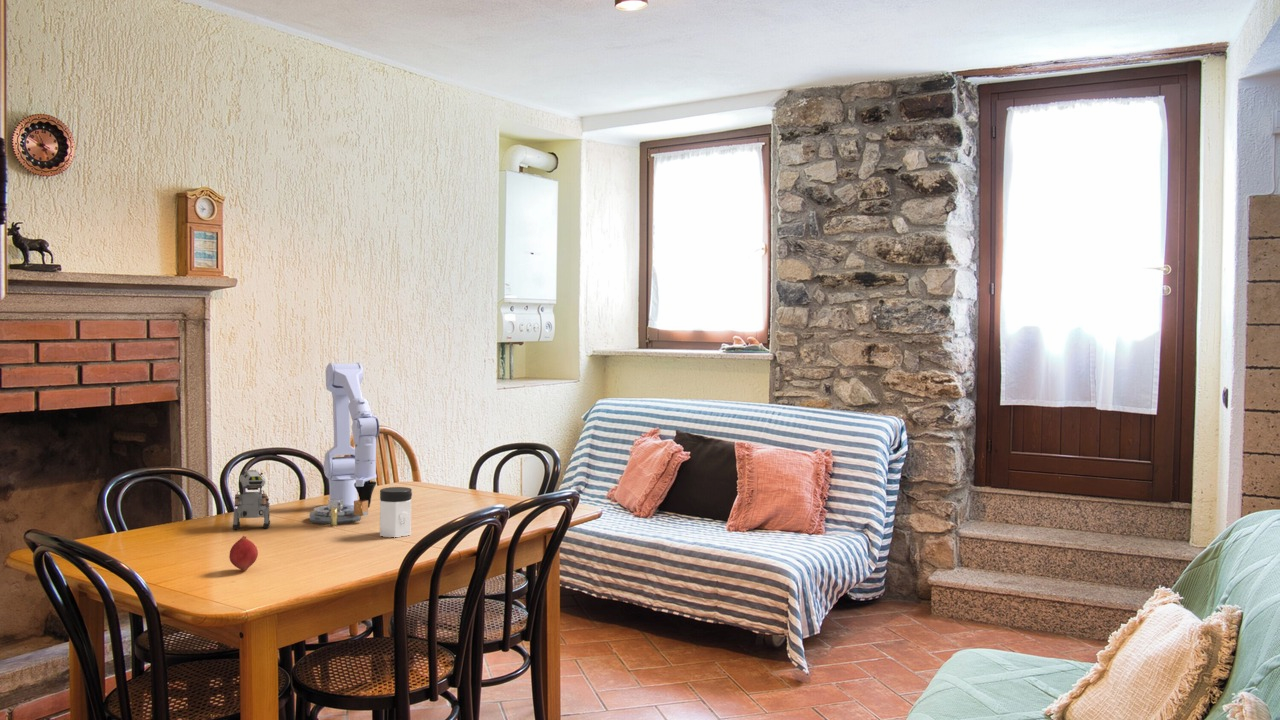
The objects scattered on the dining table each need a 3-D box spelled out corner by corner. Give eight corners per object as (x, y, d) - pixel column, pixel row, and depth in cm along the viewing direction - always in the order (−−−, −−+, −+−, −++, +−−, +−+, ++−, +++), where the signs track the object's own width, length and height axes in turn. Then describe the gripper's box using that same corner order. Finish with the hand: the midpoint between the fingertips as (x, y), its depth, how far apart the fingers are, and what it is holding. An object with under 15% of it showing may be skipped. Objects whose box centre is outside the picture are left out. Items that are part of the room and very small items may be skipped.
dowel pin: (332, 525, 252) (332, 507, 251) (337, 525, 252) (338, 507, 251) (330, 526, 250) (330, 508, 250) (335, 526, 250) (336, 508, 250)
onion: (224, 573, 201) (224, 537, 200) (237, 567, 206) (237, 532, 206) (250, 574, 200) (250, 538, 200) (262, 567, 206) (262, 532, 206)
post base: (320, 514, 266) (320, 495, 266) (367, 515, 266) (367, 496, 266) (301, 524, 252) (301, 504, 252) (351, 525, 252) (352, 505, 252)
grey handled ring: (304, 513, 256) (305, 499, 256) (333, 506, 267) (333, 492, 267) (351, 519, 250) (351, 504, 250) (379, 511, 260) (379, 497, 260)
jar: (387, 539, 236) (388, 493, 236) (372, 534, 242) (373, 489, 242) (418, 534, 242) (419, 489, 242) (403, 529, 248) (403, 485, 248)
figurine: (272, 521, 255) (273, 468, 255) (267, 530, 244) (267, 474, 244) (237, 522, 253) (237, 469, 253) (230, 531, 242) (230, 475, 241)
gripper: (357, 456, 264) (356, 502, 265) (344, 463, 250) (344, 512, 251) (381, 456, 265) (381, 502, 265) (370, 463, 251) (370, 512, 251)
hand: (365, 507), depth 258 cm, fingers closed, pressing on grey handled ring
